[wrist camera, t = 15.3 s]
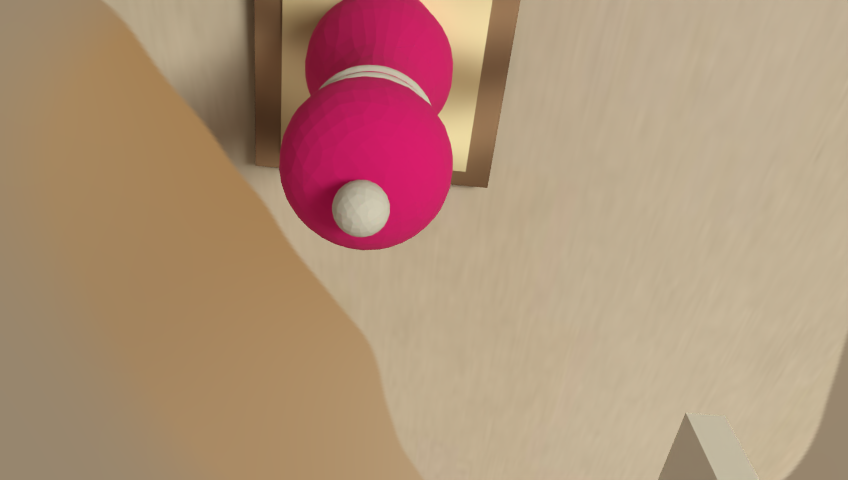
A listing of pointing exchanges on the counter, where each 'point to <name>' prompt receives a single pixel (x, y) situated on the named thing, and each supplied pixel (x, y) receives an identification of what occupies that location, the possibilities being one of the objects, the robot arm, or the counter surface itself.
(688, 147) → the counter surface
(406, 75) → the pepper mill
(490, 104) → the clipboard
